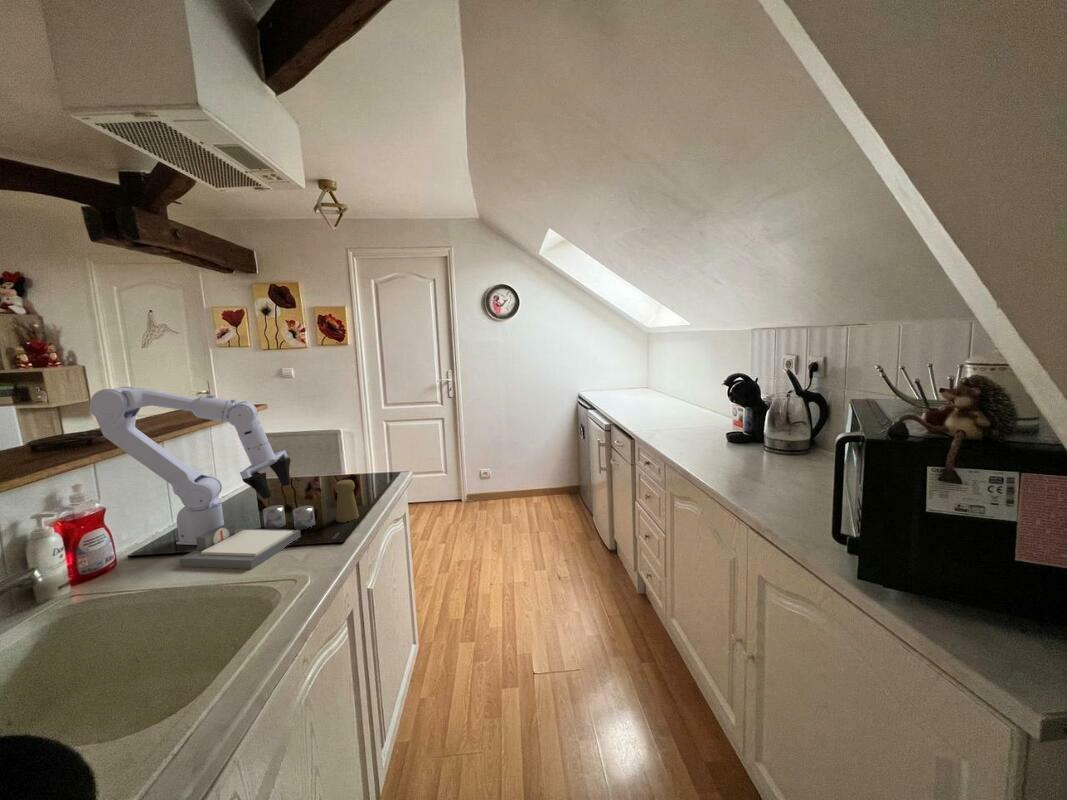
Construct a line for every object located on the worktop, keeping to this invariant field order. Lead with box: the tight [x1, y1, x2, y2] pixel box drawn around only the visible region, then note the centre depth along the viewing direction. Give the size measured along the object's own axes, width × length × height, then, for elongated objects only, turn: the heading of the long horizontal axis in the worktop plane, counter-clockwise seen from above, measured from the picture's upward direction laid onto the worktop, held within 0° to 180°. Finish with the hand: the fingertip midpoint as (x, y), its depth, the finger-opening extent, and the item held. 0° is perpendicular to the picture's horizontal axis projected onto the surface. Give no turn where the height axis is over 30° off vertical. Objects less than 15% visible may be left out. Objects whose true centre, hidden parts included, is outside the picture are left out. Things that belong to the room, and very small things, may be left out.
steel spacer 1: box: [262, 504, 287, 530], centre depth 118 cm, size 5×5×5 cm
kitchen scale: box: [179, 523, 302, 570], centre depth 102 cm, size 18×16×6 cm
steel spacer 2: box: [292, 505, 316, 531], centre depth 116 cm, size 5×5×5 cm
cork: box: [334, 479, 360, 523], centre depth 121 cm, size 6×6×11 cm
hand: (277, 491), depth 116 cm, fingers open, 7 cm apart
